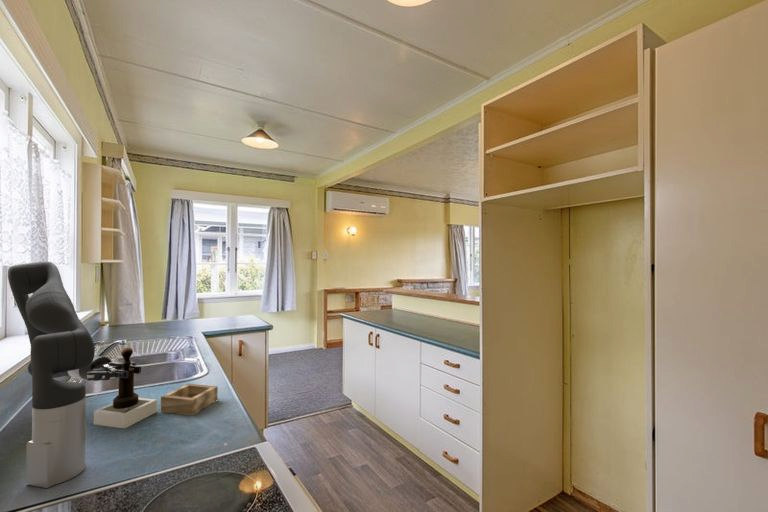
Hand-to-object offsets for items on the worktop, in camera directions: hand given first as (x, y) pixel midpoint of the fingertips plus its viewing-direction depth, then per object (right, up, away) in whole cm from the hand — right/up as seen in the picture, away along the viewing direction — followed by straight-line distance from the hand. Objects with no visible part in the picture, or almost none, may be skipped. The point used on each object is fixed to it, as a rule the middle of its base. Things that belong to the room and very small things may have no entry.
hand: (133, 372), depth 111 cm
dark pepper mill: (-3, -11, +1) cm, 11 cm away
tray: (-3, -15, +1) cm, 15 cm away
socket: (+12, -15, +10) cm, 22 cm away
